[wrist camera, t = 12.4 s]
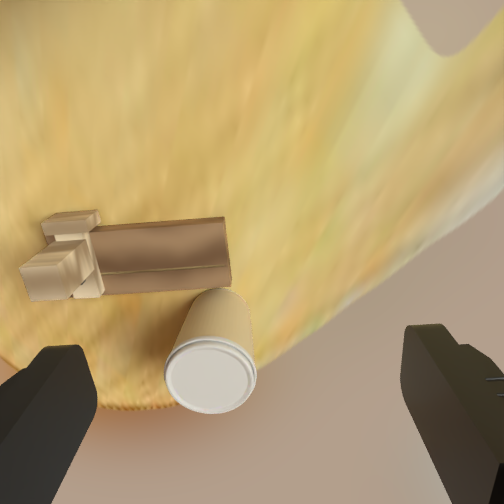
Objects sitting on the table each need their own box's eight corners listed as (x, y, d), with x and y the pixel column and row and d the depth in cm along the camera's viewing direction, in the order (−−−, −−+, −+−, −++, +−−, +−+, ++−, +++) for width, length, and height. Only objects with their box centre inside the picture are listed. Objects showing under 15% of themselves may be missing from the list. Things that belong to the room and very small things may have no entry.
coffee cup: (172, 326, 49) (148, 396, 38) (202, 269, 45) (184, 328, 34) (236, 353, 51) (230, 428, 40) (269, 301, 47) (273, 366, 36)
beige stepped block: (56, 213, 42) (3, 246, 34) (98, 209, 42) (55, 242, 33) (78, 285, 46) (36, 332, 37) (117, 283, 46) (83, 330, 37)
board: (53, 229, 44) (44, 235, 42) (224, 216, 43) (222, 222, 41) (72, 289, 47) (65, 297, 45) (231, 278, 46) (230, 286, 44)
